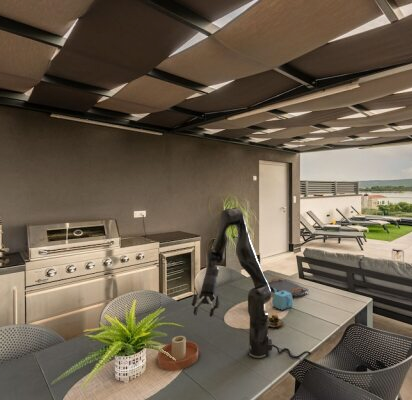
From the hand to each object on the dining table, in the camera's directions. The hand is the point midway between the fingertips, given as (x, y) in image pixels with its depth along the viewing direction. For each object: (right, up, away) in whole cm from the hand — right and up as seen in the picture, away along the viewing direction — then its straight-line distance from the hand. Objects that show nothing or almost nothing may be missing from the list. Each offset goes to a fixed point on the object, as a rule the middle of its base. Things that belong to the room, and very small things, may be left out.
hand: (203, 315), depth 145 cm
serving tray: (+48, -14, +83) cm, 97 cm away
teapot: (+43, -15, +49) cm, 67 cm away
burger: (+37, -15, +22) cm, 46 cm away
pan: (-8, -14, -14) cm, 22 cm away
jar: (-8, -14, -14) cm, 21 cm away
